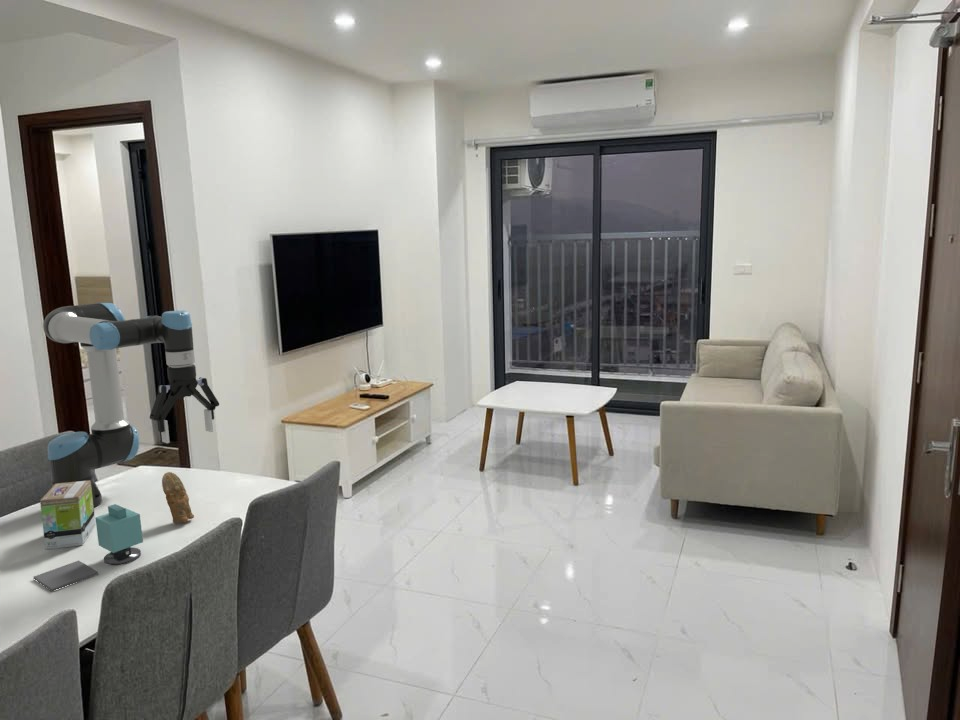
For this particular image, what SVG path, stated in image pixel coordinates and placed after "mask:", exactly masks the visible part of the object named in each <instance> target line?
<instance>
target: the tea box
mask: <svg viewBox="0 0 960 720" xmlns="http://www.w3.org/2000/svg"><path fill="white" fill-rule="evenodd" d="M39 503H40V511H41V512H40V513H41V521H42V522H41V523H42V531H43V532H42V533H43V538H44V540H43V541H44V548H45V550H53V549H61V548H62V549H63V548H70V547H71V548H72V547H77V546H83V545H84V543H85V542H86V540H87V538H88V537H89V536H90V534H91V533H92V532H93V531H92V530H93V529H94V528H95V526H96V519H95V517H96V516H95V509H94V508H95V507H94V506H93V497H92V488H91V481H90V480H89V481H78V482H68V483H58V484H54V486H53V487H51V488H50V489H49V490H48V491H47V493H45V494H44V496H43V497H41V499H40V500H39Z"/></svg>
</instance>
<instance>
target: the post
mask: <svg viewBox="0 0 960 720" xmlns="http://www.w3.org/2000/svg"><path fill="white" fill-rule="evenodd" d="M141 555H142V552H141V549H140V548H138V547H132V546H131V547H128V548H126V549H123V550H120V551H117V552H115V553H112V552H110V551H109V552H108V553H107V554H106V555H105V556H104V557H103V562H104V564H105V565H107V566H120V565H121V564H122V565H126V564H129V563H133V562H134V561H136V560H137V559H139V558H140V557H141ZM122 565H121V566H122Z"/></svg>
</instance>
